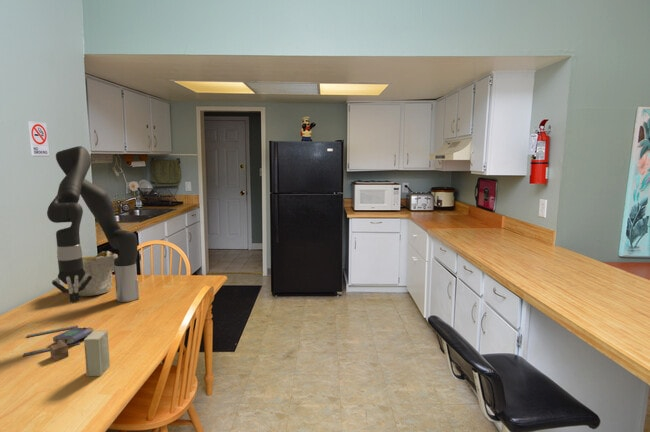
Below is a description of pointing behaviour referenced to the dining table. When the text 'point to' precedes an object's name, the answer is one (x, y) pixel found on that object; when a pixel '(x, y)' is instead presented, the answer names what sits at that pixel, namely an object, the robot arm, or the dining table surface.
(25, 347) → the dining table surface
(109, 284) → the ceramic vessel
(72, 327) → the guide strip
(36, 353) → the guide strip
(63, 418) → the dining table surface
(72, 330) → the flask
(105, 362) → the skincare box
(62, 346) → the walnut cube
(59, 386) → the dining table surface
